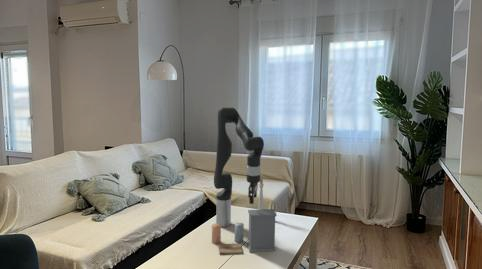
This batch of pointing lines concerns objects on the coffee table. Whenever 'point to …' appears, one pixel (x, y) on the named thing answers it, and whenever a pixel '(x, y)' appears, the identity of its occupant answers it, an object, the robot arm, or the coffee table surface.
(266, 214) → the post
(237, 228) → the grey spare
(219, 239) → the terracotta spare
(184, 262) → the coffee table surface
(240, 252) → the pad
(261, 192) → the candlestick
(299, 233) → the coffee table surface
